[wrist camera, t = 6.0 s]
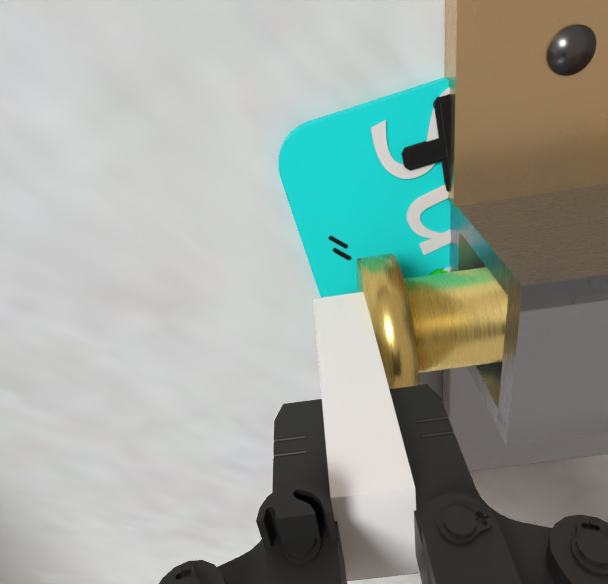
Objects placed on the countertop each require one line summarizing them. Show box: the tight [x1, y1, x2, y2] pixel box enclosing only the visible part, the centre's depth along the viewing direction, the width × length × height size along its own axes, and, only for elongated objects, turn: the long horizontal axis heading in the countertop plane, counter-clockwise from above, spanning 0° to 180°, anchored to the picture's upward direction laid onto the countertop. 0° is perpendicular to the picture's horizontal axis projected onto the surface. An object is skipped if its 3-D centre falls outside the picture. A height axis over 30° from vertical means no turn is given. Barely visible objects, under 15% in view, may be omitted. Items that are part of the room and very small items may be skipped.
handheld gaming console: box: [279, 78, 451, 298], centre depth 16 cm, size 8×1×15 cm
